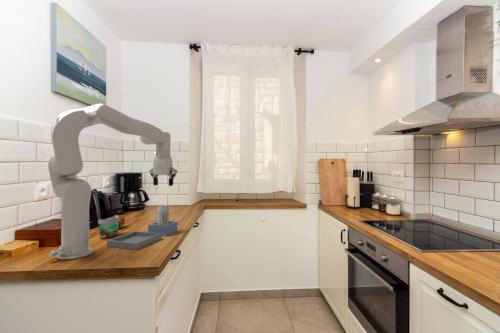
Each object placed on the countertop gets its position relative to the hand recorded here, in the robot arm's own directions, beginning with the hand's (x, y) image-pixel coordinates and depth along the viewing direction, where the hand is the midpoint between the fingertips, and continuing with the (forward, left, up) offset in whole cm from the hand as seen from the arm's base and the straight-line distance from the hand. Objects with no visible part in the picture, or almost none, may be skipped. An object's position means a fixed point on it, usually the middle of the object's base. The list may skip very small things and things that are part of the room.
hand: (163, 185), depth 140 cm
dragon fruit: (0, +32, -26) cm, 41 cm away
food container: (-14, +21, -26) cm, 37 cm away
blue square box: (0, 0, -26) cm, 26 cm away
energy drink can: (0, 0, -26) cm, 27 cm away
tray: (-19, +2, -26) cm, 33 cm away
